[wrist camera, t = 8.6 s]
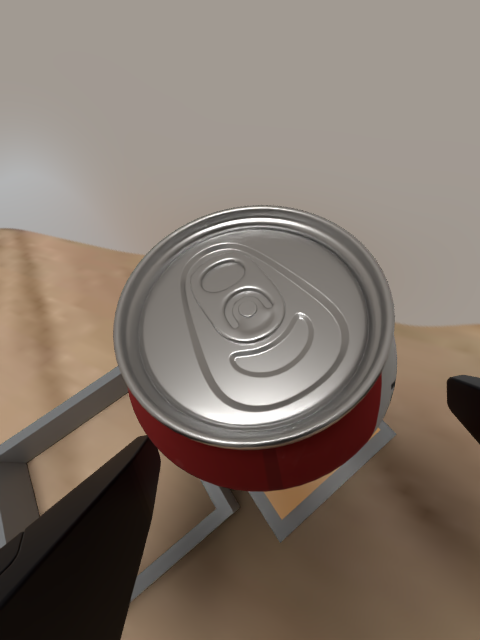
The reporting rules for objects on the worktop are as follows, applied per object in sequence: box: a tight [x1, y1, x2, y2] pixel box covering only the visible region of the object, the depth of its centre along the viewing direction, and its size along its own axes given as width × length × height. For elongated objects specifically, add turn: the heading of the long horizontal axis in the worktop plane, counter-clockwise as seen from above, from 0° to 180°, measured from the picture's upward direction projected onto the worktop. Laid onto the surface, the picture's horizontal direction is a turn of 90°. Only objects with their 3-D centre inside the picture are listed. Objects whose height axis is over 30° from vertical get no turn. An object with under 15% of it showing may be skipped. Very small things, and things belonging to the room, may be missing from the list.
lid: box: [248, 420, 396, 543], centre depth 17 cm, size 9×8×2 cm
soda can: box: [113, 205, 397, 492], centre depth 11 cm, size 7×7×12 cm
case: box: [0, 366, 240, 603], centre depth 16 cm, size 11×11×2 cm
